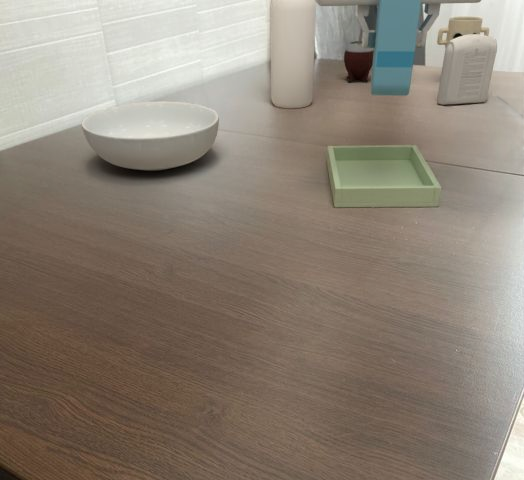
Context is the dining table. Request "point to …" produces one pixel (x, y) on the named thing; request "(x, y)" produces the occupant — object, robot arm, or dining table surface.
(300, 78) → the alcohol
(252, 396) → the dining table surface
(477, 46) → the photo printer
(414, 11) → the data package
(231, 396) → the dining table surface
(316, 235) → the dining table surface
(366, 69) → the mate gourd
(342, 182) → the shallow green tray
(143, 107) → the serving bowl
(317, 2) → the robot arm
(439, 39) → the character mug
